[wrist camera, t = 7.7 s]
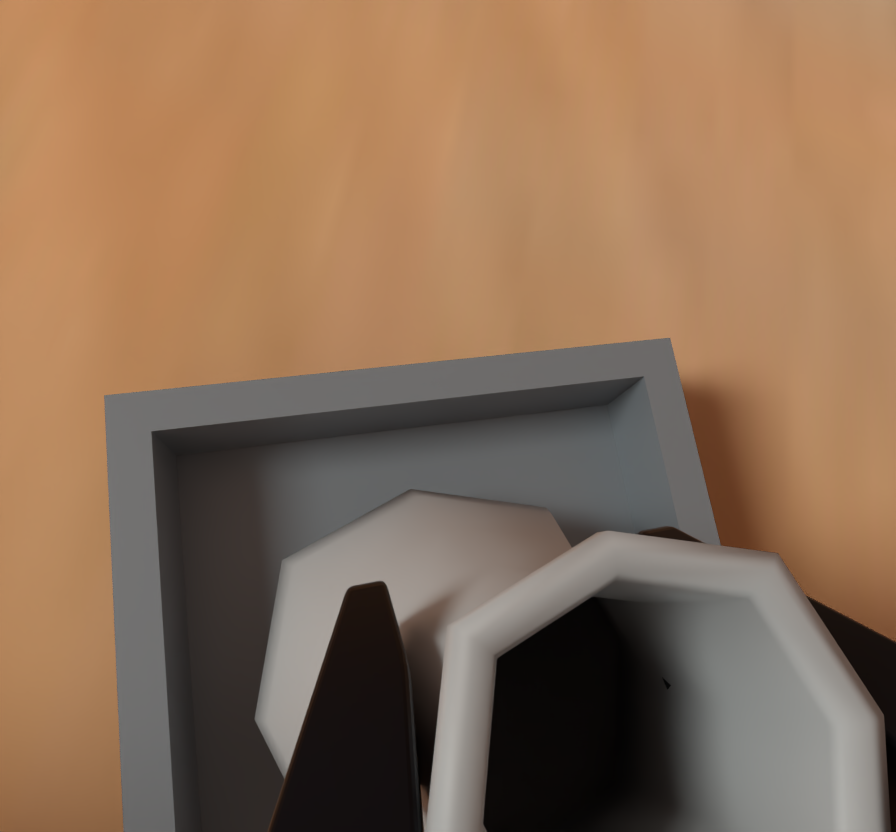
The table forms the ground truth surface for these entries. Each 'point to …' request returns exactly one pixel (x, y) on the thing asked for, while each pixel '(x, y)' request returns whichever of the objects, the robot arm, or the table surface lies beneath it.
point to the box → (341, 523)
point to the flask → (590, 676)
